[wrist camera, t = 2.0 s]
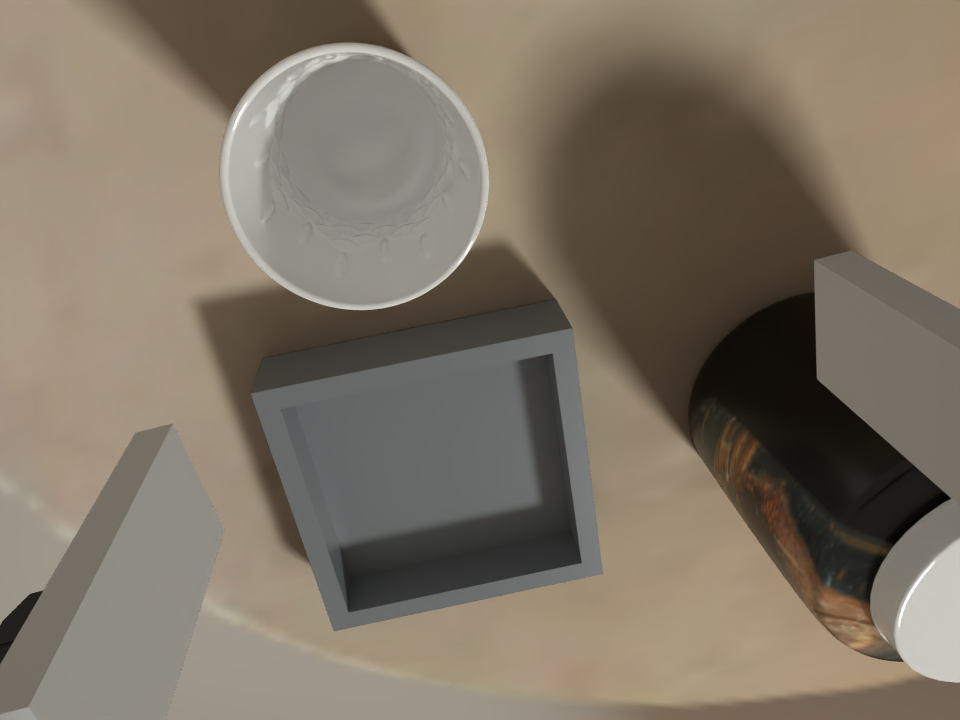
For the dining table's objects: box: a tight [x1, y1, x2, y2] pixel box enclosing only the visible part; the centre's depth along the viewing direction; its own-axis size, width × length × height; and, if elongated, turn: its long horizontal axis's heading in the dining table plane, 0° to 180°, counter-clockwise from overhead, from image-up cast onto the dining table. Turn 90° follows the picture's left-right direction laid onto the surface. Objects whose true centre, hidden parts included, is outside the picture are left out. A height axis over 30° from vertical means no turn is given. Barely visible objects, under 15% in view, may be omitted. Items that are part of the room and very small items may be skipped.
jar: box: [689, 293, 960, 682], centre depth 32 cm, size 12×12×15 cm
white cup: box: [219, 42, 489, 310], centre depth 27 cm, size 8×8×10 cm
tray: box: [251, 299, 603, 631], centre depth 37 cm, size 14×14×4 cm
